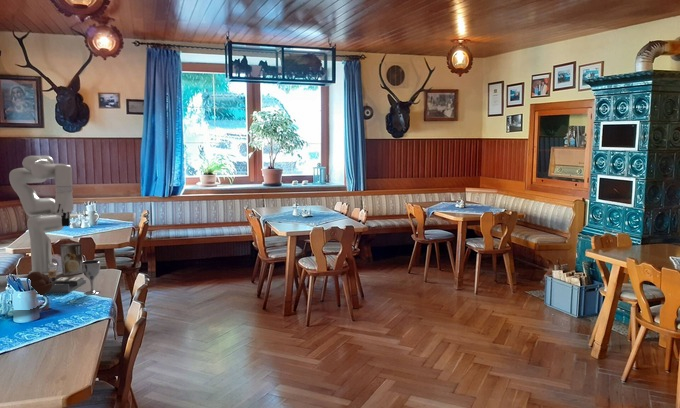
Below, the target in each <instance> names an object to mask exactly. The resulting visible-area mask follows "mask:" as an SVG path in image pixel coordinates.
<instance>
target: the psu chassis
mask: <svg viewBox="0 0 680 408" xmlns="http://www.w3.org/2000/svg"><path fill="white" fill-rule="evenodd" d="M59 278H60V277H59ZM59 278H57V276H56V277H52V278H50V281H52V282H53V286H52V288H51V289H50V290H49V291H48V293H47V294H70V293H72V292H73V291H75V290H76V289H78V288H79V287H81V286H83V285H84V284H86V283H87V280H85V279H84V277H79V278H80V279H78V280H77V281H69V280H70V279H72V278H73V277H67V278H68V279H66V280H64V281H56V280H58V279H59Z"/></svg>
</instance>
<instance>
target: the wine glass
mask: <svg viewBox="0 0 680 408" xmlns="http://www.w3.org/2000/svg"><path fill="white" fill-rule="evenodd" d="M82 271H83V273H82V274H84V275H83V276H85V277H86V278H87V279H88V280H89V283H90V290H88V291H85V292H84V293H83V294H84V295H85V296H91V295H92V296H93V295H98V294H100V293H101V291H100V290H96V289H95V290H94V280H95V279H96V277H97V276H98V275H99V274H100V271H101V260H99V259H89V260H84V261H83V260H82Z"/></svg>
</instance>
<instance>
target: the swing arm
mask: <svg viewBox="0 0 680 408" xmlns="http://www.w3.org/2000/svg"><path fill="white" fill-rule="evenodd" d="M58 269H59V267H58V263H57V262H52V263H50V264H48V275H47V276H48V277H49V278H50V279H51V278H52V277H56V278H57V271H58Z"/></svg>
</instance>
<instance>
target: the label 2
mask: <svg viewBox="0 0 680 408" xmlns="http://www.w3.org/2000/svg"><path fill="white" fill-rule="evenodd" d="M71 278H72V279H70V280H69V281H77V280H78V279H80V278H81V277H71Z"/></svg>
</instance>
